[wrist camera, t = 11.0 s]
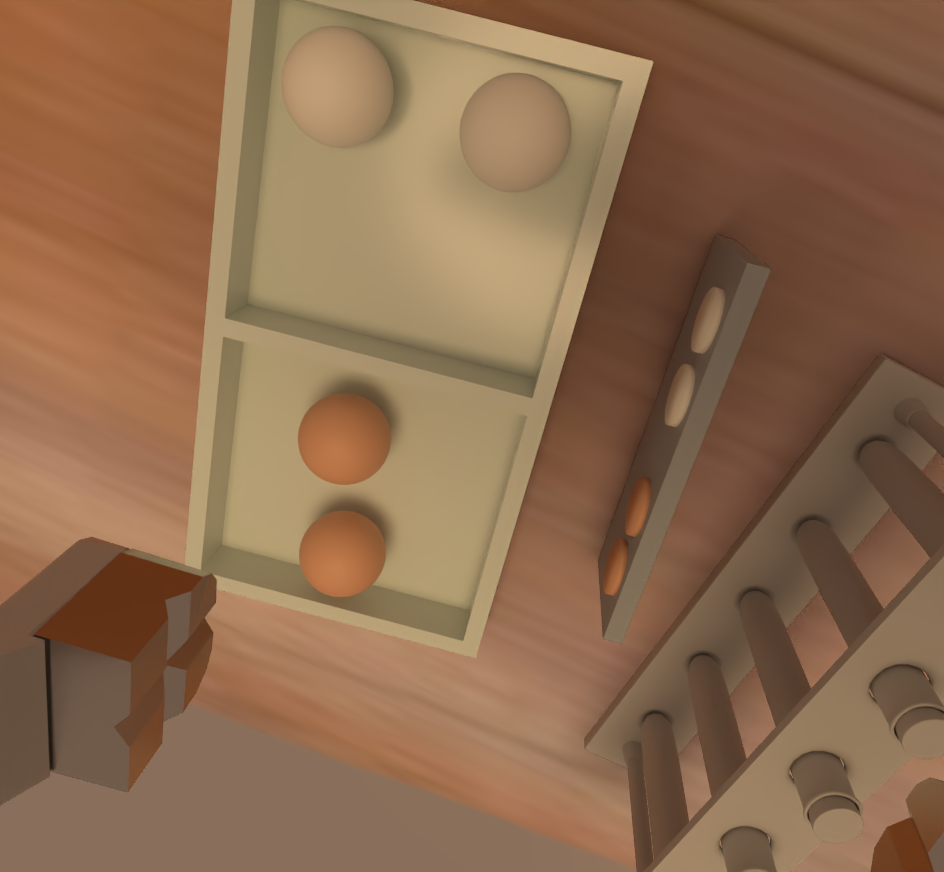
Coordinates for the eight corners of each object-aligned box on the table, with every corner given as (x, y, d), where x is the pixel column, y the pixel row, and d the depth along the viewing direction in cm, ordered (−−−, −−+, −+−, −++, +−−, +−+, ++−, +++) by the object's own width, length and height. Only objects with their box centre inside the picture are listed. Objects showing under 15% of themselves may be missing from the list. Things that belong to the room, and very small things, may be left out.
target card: (734, 239, 30) (771, 268, 25) (614, 564, 37) (621, 644, 31) (708, 232, 30) (738, 260, 25) (591, 558, 37) (595, 637, 31)
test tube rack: (654, 770, 42) (687, 1037, 30) (583, 738, 42) (589, 994, 30) (968, 399, 32) (1210, 577, 20) (879, 352, 32) (1069, 503, 20)
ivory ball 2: (583, 89, 28) (585, 86, 25) (554, 197, 30) (552, 210, 26) (479, 63, 28) (466, 56, 25) (456, 172, 30) (441, 182, 26)
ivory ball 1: (412, 45, 28) (389, 37, 25) (393, 156, 30) (368, 163, 26) (309, 19, 28) (271, 6, 25) (295, 131, 30) (258, 135, 26)
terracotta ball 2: (400, 507, 36) (382, 552, 33) (386, 574, 38) (366, 624, 34) (320, 486, 36) (292, 528, 33) (309, 554, 38) (281, 602, 34)
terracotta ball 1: (417, 405, 33) (357, 426, 30) (399, 484, 35) (341, 512, 31) (348, 372, 35) (284, 388, 31) (334, 449, 36) (272, 472, 33)
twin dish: (645, 65, 28) (653, 61, 26) (482, 619, 39) (475, 658, 36) (268, -31, 28) (236, -45, 26) (210, 547, 39) (183, 580, 37)
